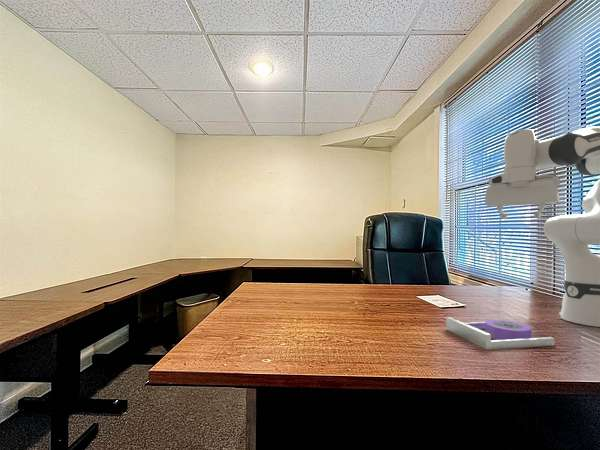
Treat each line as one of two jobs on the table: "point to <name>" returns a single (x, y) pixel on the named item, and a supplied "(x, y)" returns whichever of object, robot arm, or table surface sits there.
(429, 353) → the table surface
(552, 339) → the guide channel
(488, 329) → the masking tape
